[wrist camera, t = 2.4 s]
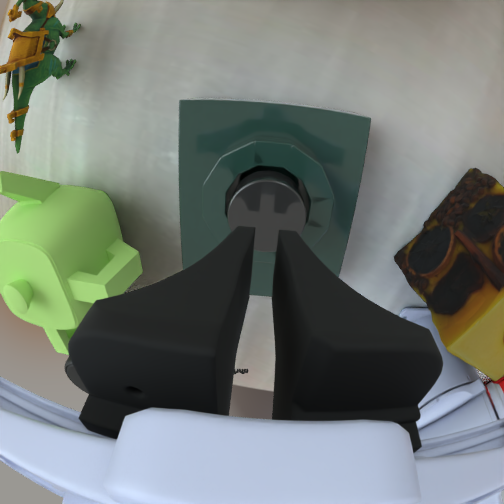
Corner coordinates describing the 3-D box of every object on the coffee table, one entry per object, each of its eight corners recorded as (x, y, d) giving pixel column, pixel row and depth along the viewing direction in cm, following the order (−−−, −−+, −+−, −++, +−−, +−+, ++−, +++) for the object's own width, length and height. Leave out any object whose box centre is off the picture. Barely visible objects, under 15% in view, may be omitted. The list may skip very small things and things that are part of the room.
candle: (389, 256, 22) (438, 352, 13) (469, 161, 17) (559, 218, 9) (450, 307, 24) (492, 387, 16) (517, 233, 20) (579, 297, 11)
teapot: (171, 229, 22) (117, 318, 14) (108, 305, 27) (63, 383, 18) (63, 134, 18) (-32, 175, 10) (23, 230, 23) (-41, 287, 15)
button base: (325, 271, 23) (335, 320, 18) (195, 259, 23) (177, 305, 18) (353, 112, 17) (383, 121, 12) (196, 97, 17) (167, 101, 12)
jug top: (298, 238, 16) (300, 256, 14) (230, 232, 16) (226, 249, 15) (307, 173, 14) (312, 184, 13) (233, 166, 14) (228, 176, 13)
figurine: (95, -11, 12) (22, -33, 5) (71, 138, 18) (-4, 171, 11) (64, -4, 12) (-10, -17, 5) (44, 136, 18) (-30, 168, 11)
